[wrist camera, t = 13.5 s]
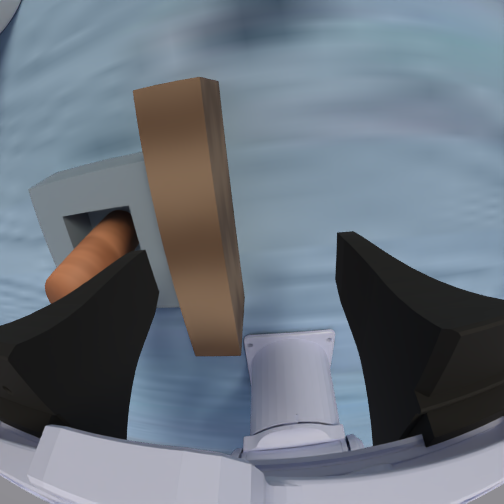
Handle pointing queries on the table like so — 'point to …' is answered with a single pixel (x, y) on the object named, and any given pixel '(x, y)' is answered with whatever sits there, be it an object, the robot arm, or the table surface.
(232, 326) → the walnut wall
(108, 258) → the dowel
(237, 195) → the table surface
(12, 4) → the candle holder
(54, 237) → the socket block
